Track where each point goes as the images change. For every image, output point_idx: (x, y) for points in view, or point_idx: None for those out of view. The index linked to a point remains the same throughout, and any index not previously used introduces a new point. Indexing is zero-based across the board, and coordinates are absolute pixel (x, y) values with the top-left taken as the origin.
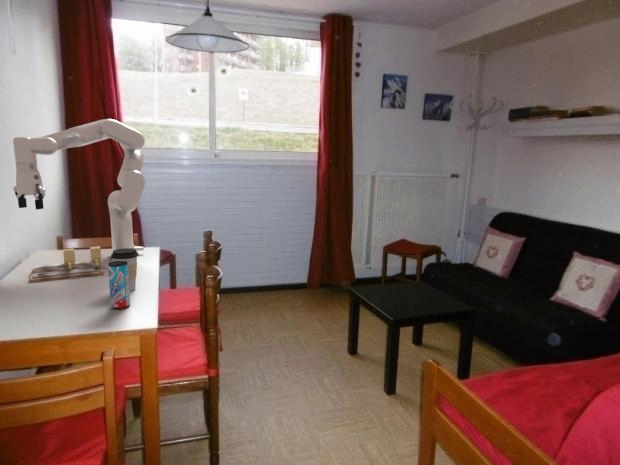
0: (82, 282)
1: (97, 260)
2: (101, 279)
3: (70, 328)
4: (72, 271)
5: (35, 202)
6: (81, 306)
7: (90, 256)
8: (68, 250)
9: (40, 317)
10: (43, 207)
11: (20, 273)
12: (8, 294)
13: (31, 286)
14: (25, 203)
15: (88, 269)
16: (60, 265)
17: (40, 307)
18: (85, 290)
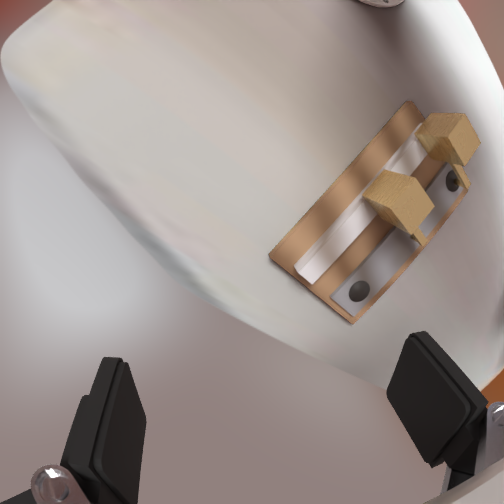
0: (452, 259)
1: (465, 175)
2: (473, 223)
3: (490, 374)
4: None
5: (424, 444)
6: (487, 338)
7: (426, 138)
8: (421, 219)
9: None
10: (428, 334)
11: (241, 276)
12: (365, 375)
13: (372, 331)
14: (121, 409)
15: (438, 196)
16: (368, 222)
17: None
18: (474, 292)
